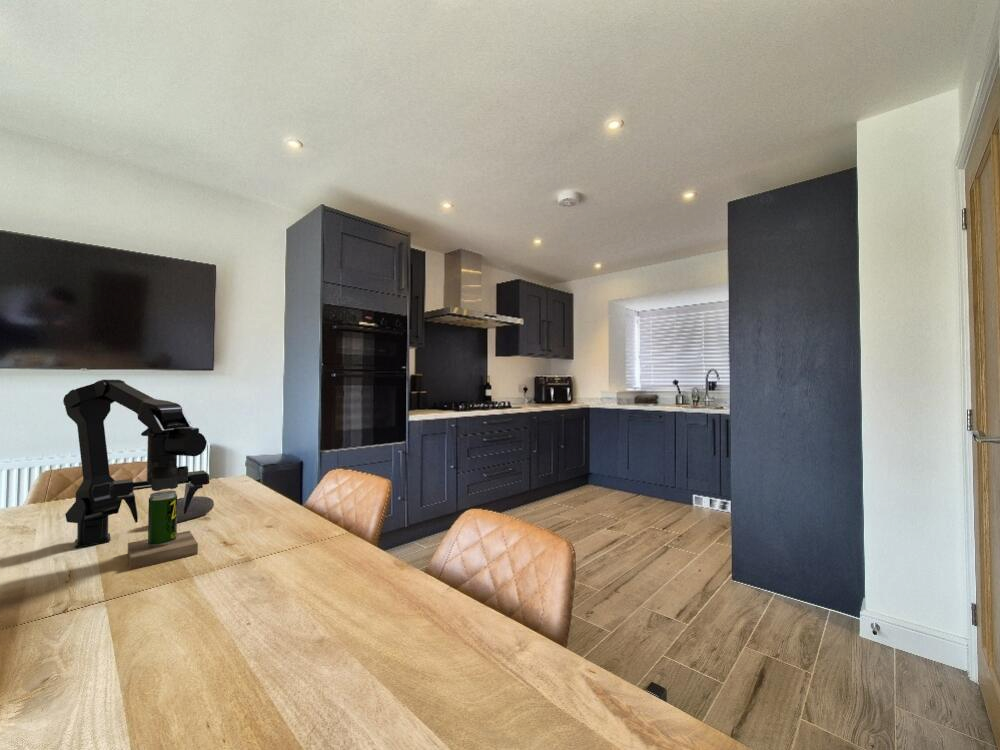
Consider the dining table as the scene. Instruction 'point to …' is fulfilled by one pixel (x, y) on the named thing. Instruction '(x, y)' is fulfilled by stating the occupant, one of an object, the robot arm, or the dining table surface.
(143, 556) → the walnut block
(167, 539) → the beer can
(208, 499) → the perforated stone tool
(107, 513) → the robot arm
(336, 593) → the dining table surface
